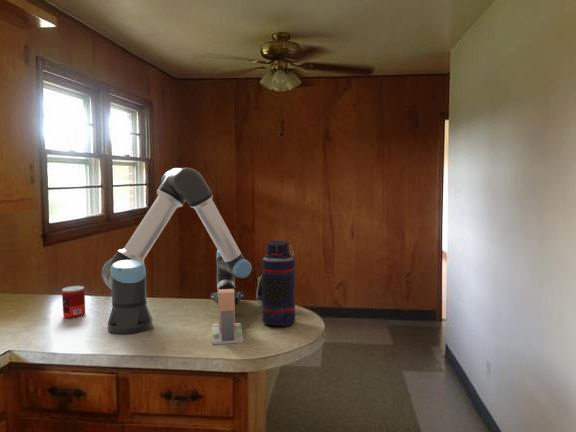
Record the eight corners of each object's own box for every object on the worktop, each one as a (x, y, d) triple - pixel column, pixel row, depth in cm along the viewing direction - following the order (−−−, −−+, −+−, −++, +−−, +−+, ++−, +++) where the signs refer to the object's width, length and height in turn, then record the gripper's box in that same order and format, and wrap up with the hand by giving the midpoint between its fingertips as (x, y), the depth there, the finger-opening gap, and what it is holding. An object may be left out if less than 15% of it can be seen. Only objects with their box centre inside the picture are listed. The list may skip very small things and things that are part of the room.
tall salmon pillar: (213, 330, 159) (212, 293, 158) (213, 325, 164) (212, 289, 163) (240, 329, 161) (240, 292, 159) (240, 324, 165) (239, 288, 164)
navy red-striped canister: (291, 329, 163) (291, 244, 160) (258, 327, 165) (257, 244, 163) (298, 317, 176) (298, 239, 174) (268, 316, 179) (267, 238, 176)
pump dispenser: (281, 309, 187) (281, 272, 186) (255, 309, 187) (254, 272, 186) (282, 302, 197) (281, 267, 196) (257, 302, 197) (257, 267, 196)
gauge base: (212, 344, 149) (212, 338, 149) (212, 329, 164) (212, 323, 164) (243, 342, 151) (243, 336, 151) (240, 327, 166) (240, 321, 165)
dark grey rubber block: (221, 341, 150) (221, 313, 149) (221, 338, 153) (220, 311, 152) (234, 340, 150) (233, 313, 150) (233, 337, 153) (233, 310, 152)
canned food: (89, 313, 184) (88, 285, 183) (78, 319, 176) (76, 290, 175) (70, 312, 185) (69, 285, 184) (59, 318, 177) (57, 290, 176)
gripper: (242, 299, 192) (247, 316, 169) (210, 300, 190) (210, 318, 167) (242, 281, 191) (246, 295, 168) (210, 282, 189) (210, 297, 166)
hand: (228, 306), depth 167 cm, fingers closed
